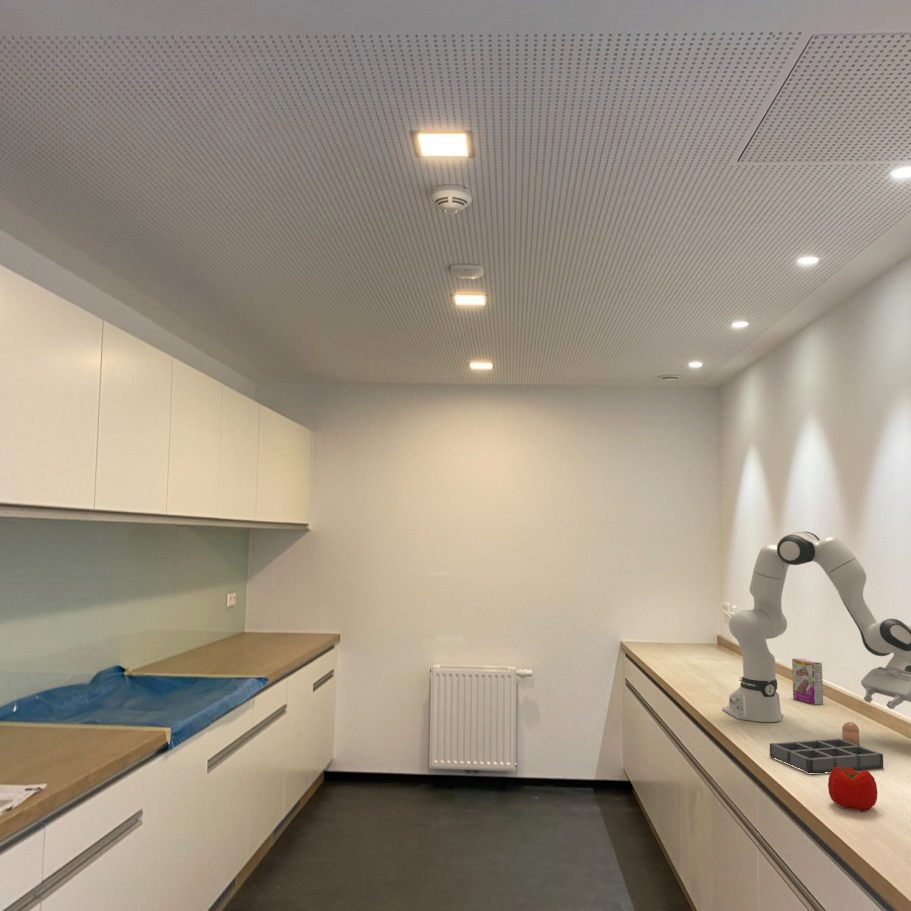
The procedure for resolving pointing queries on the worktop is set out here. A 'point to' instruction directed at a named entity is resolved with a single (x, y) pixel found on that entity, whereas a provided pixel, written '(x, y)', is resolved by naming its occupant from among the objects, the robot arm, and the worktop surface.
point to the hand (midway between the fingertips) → (877, 704)
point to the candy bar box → (807, 681)
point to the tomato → (852, 788)
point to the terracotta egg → (851, 733)
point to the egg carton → (826, 755)
